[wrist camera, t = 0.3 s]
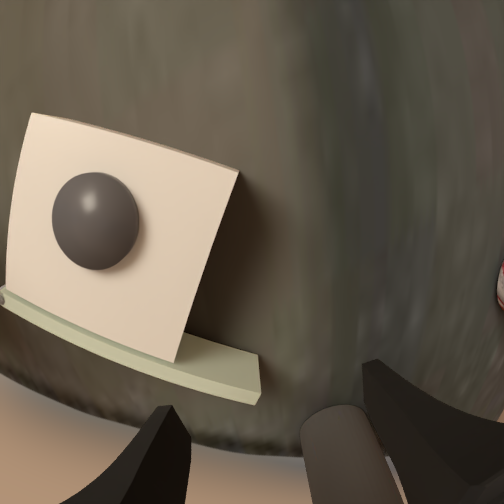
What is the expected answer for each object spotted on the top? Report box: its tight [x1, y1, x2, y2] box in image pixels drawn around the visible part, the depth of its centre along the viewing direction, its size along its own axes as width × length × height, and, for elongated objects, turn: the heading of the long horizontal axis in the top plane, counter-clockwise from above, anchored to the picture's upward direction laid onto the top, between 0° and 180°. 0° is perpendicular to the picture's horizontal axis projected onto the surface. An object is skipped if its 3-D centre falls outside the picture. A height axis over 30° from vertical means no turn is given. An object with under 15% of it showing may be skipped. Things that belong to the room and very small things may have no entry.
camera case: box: [6, 113, 239, 363], centre depth 15 cm, size 11×10×5 cm
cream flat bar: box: [0, 284, 261, 405], centre depth 17 cm, size 17×1×4 cm, turn 69°
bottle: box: [300, 405, 404, 504], centre depth 15 cm, size 6×6×15 cm
